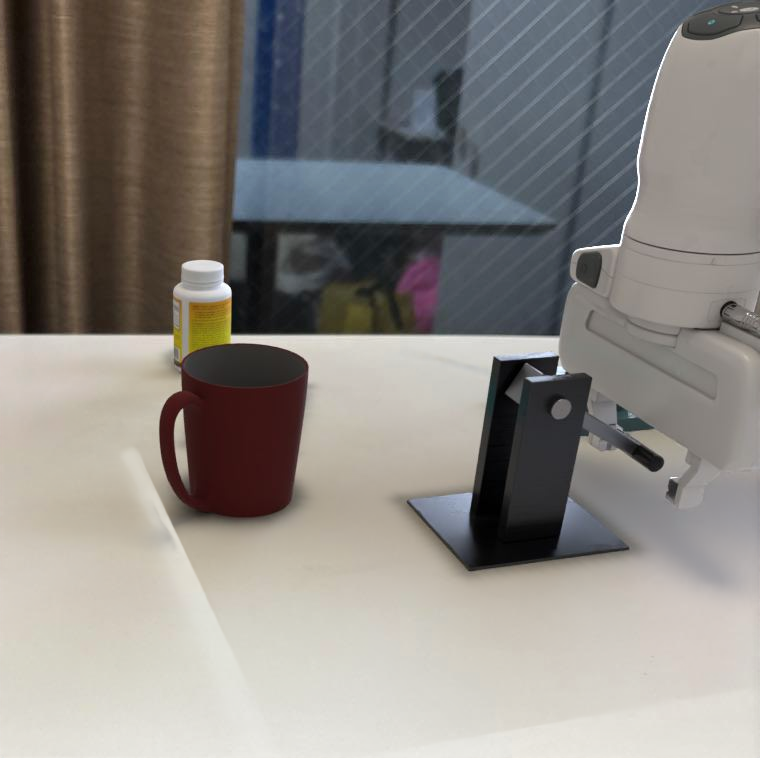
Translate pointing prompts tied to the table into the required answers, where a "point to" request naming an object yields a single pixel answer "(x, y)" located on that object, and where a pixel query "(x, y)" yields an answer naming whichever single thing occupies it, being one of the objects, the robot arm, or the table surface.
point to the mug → (237, 428)
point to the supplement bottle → (200, 309)
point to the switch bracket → (523, 476)
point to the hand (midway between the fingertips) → (639, 474)
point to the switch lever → (597, 427)
